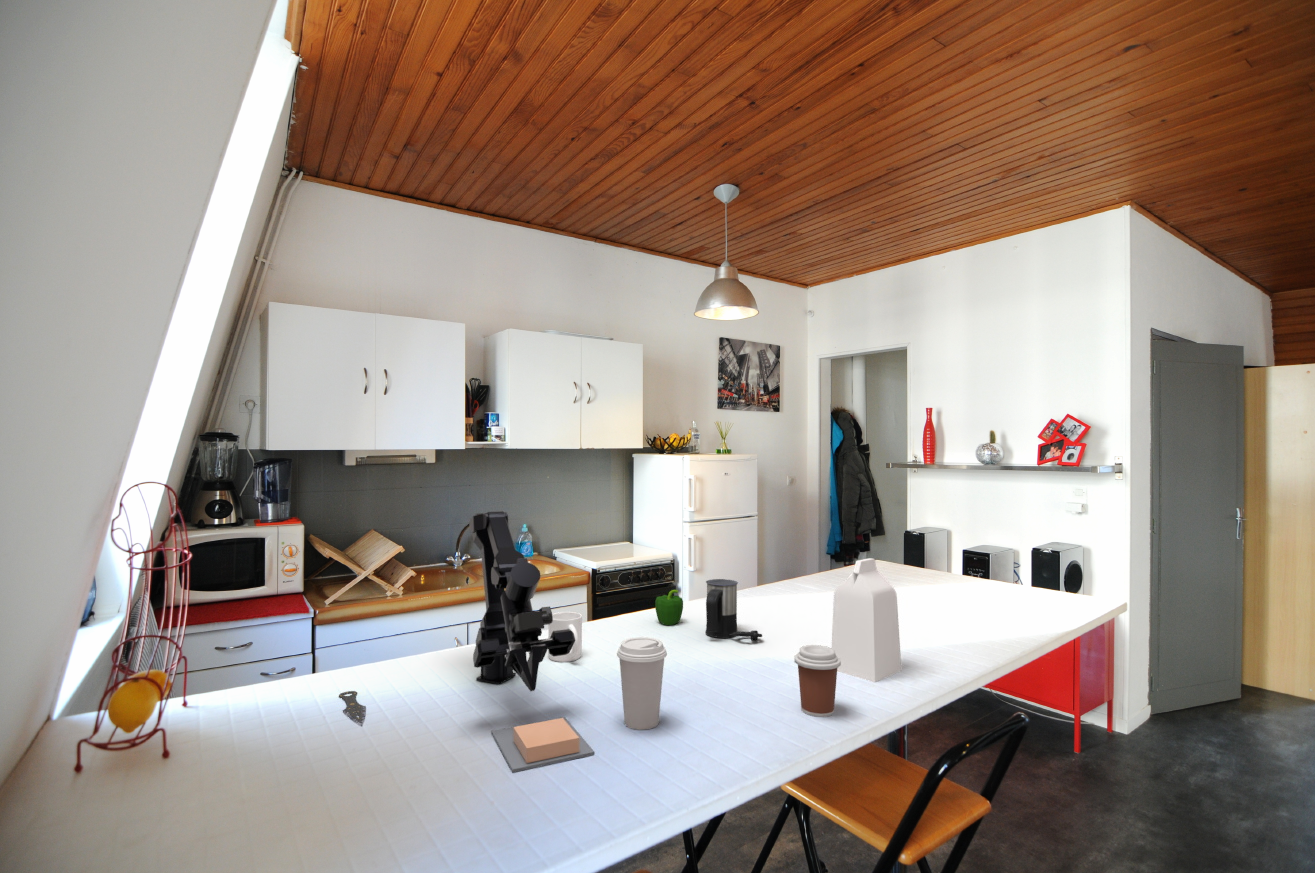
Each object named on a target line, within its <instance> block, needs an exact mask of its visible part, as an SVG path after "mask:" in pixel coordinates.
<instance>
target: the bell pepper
mask: <svg viewBox="0 0 1315 873" xmlns="http://www.w3.org/2000/svg"><path fill="white" fill-rule="evenodd" d="M678 592H679V590H678V589H671V590H670V591H669V592H668V595H667V594H663V595H662V596H656V599H655V605H654V606H655V607H654V608H655V612H656V617H657V621H658V622H659V623H661V624H662V625H664V626H665V625H666V626H674V625H675V624H678V623H680V621H681V619H682V614H683V610H684V601H683V598H682V597H681V596H679V595H676V594H678ZM673 594H675V595H673Z"/></svg>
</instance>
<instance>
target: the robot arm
mask: <svg viewBox="0 0 1315 873" xmlns="http://www.w3.org/2000/svg"><path fill="white" fill-rule="evenodd" d="M468 526H469V532H470V533H471V534H472V535H471V536H472V541H473V543H474V544H475V545H476V546H477V548H478V549H479V550H480V553H481V554H480V556H481V564H482V565H481V566H482V576H483V577H482V578H483V587H484V588H483V589H484V599H485V610H486V611H485V612H484V614H483V616H482V619H481V621H480V624H479V625H480V626H479V627H478V631H477V634H476V638H475V647H474V651H473V655H472V656H473V658H472V659H473V667H474V668H477V669H478V668H480V675H479V676H477V677H476V681H479V682H484V683H490V684H497V685H500V684H502V683H505V682H506V681H508V680H510V679H512V678H513V677H515V676H516V675H518V677H519V678H520V679H521V681H522V682H523V683H524V685H525V686H526V687H527V689H528V690H529V692H533V691H534V692H535V690H536V687H537V679H538V672H539V666H540V663H541V662H543V660H544V659H545V656H546V654H547V652H548V651H549V654H551V655H552V656H561V655H566V654H568V653H570V650H571V648H572V646H573V644H574V642H575V637H574V633H573V632H572V631H571V630H570V629H566V630H558V631H553V632H552V635H551V637H550V638H549V639H548V638H543V639H539V637H541V636H542V634H543V631H542V630H543V629H545V626H546V625H547V626H549V624H551V623H552V622H553V617H552V614H553V612H552V607H551V606H550V605H549V606H541V608H539V609H538V610H537V611H535V610H534V609H533V607H532V601H531V599H533V597H534V596H535V593H536V590H537V588H538V584H539V582H540V579H541V571H540V570H539V569H538V567H537V566H536V565H534V564H533V563H531V562H528V561H529V560H528V558H526V556H525V555H524V554H523V553H521V552H519V551H518V550H517V549H516V546H515V543H514V539H513V536H512V534H511V531H510V523H509V513H508V512H507V511H503V510H500V511H499V510H498V511H496V510H495V511H487V512H480V513H479V512H478V513H477V512H476V513H474V515H473V516H471V517H470V518H469V524H468ZM527 653H528V658H527Z"/></svg>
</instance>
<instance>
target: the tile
mask: <svg viewBox="0 0 1315 873" xmlns="http://www.w3.org/2000/svg"><path fill="white" fill-rule="evenodd" d="M559 718H560V719H556V718H553V719H554V720H551V719H548V720H549V721H545V720H542V721H543V722H540V721H537V722H538V723H535V722H532V723H533V724H529V723H526V724H527V725H524V724H521V725H522V726H519V725H516V726H517V727H513V726H512V727H513V741H514V743H515V745H516V746H517V748H518V750H519V751H520V753H521V755H522V756H523V758H524V760H525V761H526V763H530V762H535V761H540V760H544V759H549V758H554V757H558V756H563V755H568V754H572V753H577V752H579V737H578V736H577V734H576V733H575V732H574V731H573V730H572V728H571V727H570V726H569V725H568V724H567V722H566V721H565V720H564V719H563V718H562V717H559Z"/></svg>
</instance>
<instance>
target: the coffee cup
mask: <svg viewBox="0 0 1315 873" xmlns="http://www.w3.org/2000/svg"><path fill="white" fill-rule="evenodd" d="M667 656H668V653H667V649H666V647H664V644H663V641H662V640H660V639H657V638H654V637H643V636H640V637H630V638H626V639H624V640H622V642H621V643H620V646H619V647H618V649H617V652H616V657H617V658H618V660H619V668H620V682H621V691H622V692H621V693H622V694H621V695H622V706H623V708H622V709H623V718H624V719H623V721H624V725H625V726H626V727H628V728H629V729H631V730H637V731H646V730H651V729H653V728H656V727H657V726H658V725H659V723H660V722H659V721H660V711H661V698H662V688H663V678H664V677H663V676H664V675H663V674H664V666H665V665H664V664H665V658H666V657H667Z"/></svg>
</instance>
